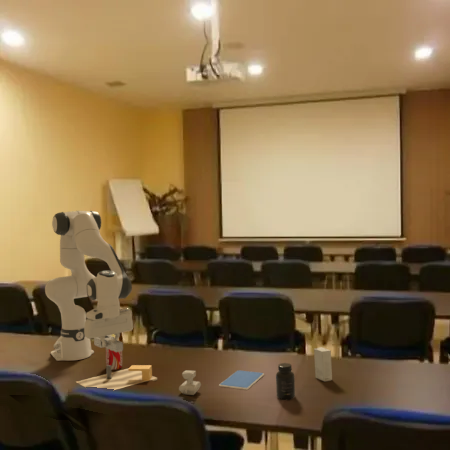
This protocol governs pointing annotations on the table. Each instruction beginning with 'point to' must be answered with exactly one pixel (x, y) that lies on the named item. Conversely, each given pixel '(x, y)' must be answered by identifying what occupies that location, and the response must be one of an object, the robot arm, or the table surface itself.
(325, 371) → the skincare box
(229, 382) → the blue notebook
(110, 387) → the board
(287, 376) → the supplement bottle
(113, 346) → the link
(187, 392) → the stamp
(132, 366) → the block
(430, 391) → the table surface
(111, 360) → the soda can
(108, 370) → the pintle
